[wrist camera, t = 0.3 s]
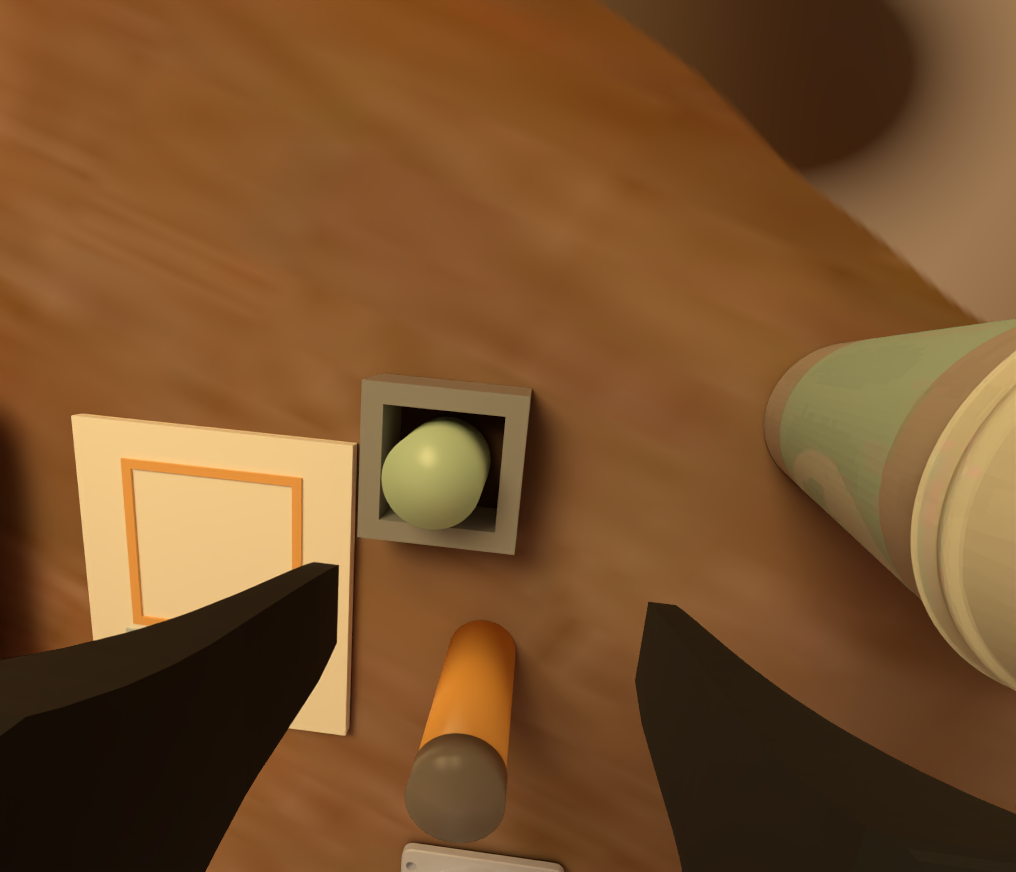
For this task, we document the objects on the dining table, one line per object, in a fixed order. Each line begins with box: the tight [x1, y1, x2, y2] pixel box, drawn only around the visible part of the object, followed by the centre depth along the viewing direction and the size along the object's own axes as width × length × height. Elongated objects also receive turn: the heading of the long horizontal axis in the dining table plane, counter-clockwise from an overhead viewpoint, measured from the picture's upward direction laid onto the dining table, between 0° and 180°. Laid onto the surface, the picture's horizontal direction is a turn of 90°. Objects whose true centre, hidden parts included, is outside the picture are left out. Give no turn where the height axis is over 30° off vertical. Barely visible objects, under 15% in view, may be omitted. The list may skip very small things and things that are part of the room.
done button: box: [382, 417, 491, 530], centre depth 18 cm, size 3×3×3 cm
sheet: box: [71, 414, 357, 736], centre depth 22 cm, size 14×12×1 cm
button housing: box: [357, 373, 532, 555], centre depth 19 cm, size 6×6×2 cm
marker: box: [405, 620, 516, 843], centre depth 19 cm, size 3×3×7 cm
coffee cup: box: [764, 319, 1016, 691], centre depth 14 cm, size 8×8×12 cm
